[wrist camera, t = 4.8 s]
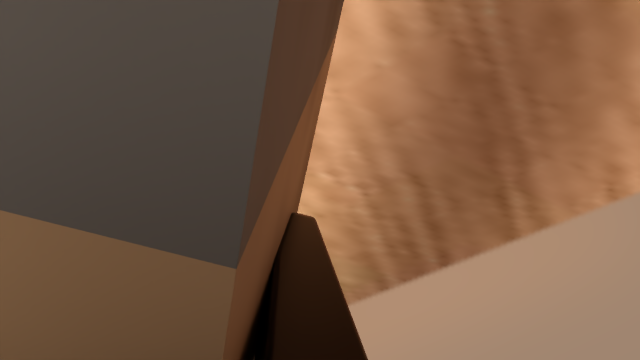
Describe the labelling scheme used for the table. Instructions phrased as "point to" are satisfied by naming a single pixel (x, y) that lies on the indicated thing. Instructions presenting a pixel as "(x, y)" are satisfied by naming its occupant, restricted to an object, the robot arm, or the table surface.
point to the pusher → (151, 170)
